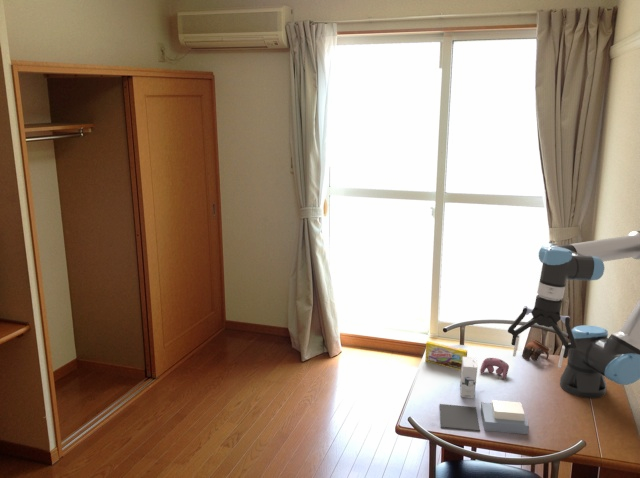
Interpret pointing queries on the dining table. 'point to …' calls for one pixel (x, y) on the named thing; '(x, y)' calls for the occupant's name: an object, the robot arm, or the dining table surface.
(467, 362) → the ink box
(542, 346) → the brown animal figurine
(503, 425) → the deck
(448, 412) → the mat
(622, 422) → the dining table surface
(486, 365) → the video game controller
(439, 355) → the candy box
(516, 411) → the tile
